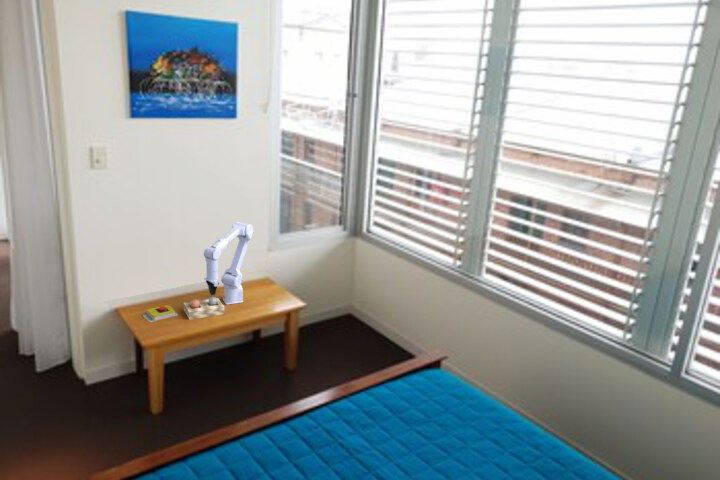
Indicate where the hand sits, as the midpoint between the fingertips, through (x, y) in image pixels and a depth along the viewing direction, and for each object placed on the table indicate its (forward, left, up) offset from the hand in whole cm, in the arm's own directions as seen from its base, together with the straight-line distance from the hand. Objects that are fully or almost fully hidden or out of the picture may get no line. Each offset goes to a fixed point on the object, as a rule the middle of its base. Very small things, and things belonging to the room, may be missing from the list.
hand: (212, 294), depth 294 cm
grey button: (0, 0, -6) cm, 6 cm away
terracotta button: (+9, 0, -6) cm, 11 cm away
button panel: (+5, 0, -9) cm, 10 cm away
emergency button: (+26, -4, -10) cm, 28 cm away
